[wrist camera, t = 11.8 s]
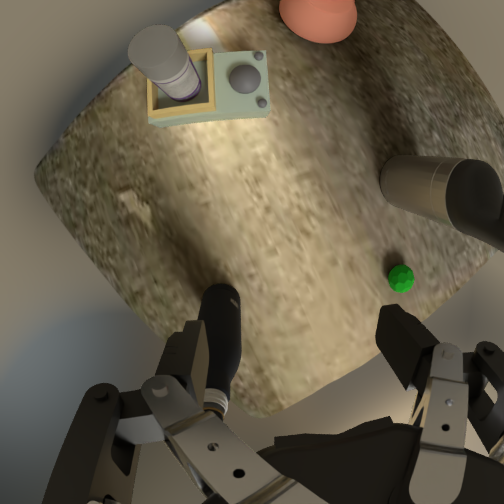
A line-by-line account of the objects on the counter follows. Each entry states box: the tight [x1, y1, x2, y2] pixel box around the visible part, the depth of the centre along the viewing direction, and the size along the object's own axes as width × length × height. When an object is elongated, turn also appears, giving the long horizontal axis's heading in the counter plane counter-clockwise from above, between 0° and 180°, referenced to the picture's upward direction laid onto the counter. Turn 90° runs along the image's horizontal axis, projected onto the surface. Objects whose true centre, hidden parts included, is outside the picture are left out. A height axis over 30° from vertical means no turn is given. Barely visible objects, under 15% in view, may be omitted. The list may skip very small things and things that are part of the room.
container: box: [128, 24, 202, 102], centre depth 24 cm, size 5×5×15 cm
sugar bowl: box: [279, 0, 357, 43], centre depth 28 cm, size 12×14×10 cm
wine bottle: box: [197, 284, 242, 421], centre depth 33 cm, size 6×6×30 cm
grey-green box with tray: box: [147, 48, 270, 128], centre depth 33 cm, size 16×9×9 cm, turn 93°
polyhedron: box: [388, 265, 415, 293], centre depth 46 cm, size 5×5×5 cm
